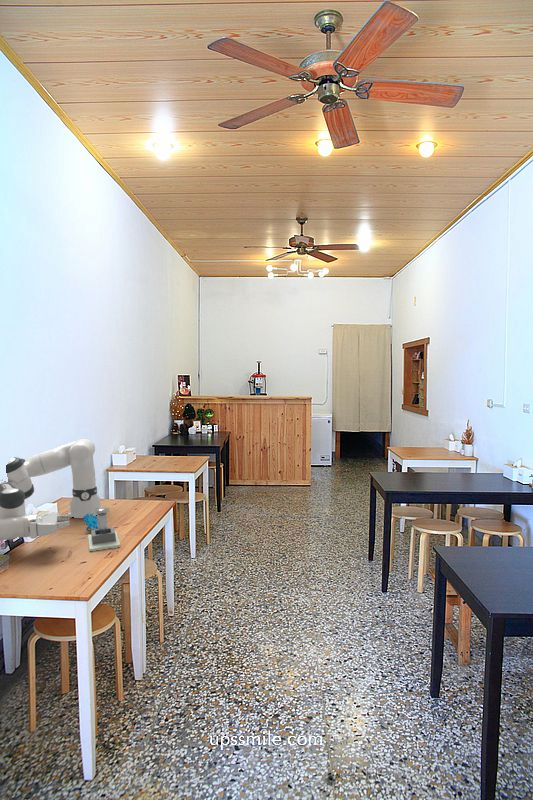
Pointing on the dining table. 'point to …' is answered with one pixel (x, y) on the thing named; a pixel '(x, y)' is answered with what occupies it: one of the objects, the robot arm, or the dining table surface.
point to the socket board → (103, 540)
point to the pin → (102, 520)
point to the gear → (91, 521)
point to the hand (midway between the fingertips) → (69, 520)
